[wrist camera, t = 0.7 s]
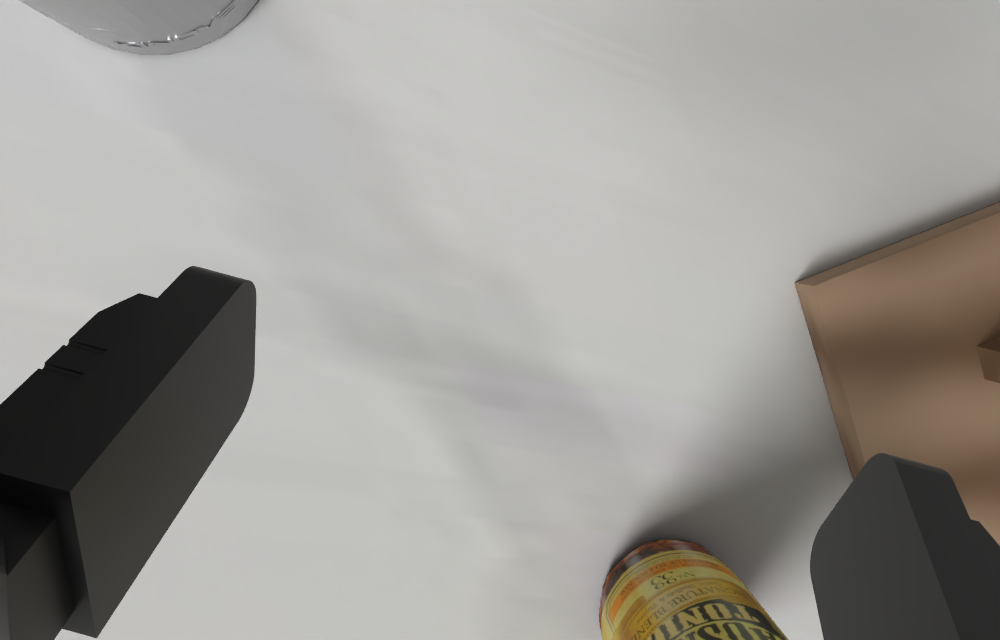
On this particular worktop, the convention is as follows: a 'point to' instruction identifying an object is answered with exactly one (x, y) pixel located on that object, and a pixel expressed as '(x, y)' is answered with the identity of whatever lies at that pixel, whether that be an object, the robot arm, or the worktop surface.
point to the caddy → (918, 354)
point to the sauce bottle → (679, 598)
